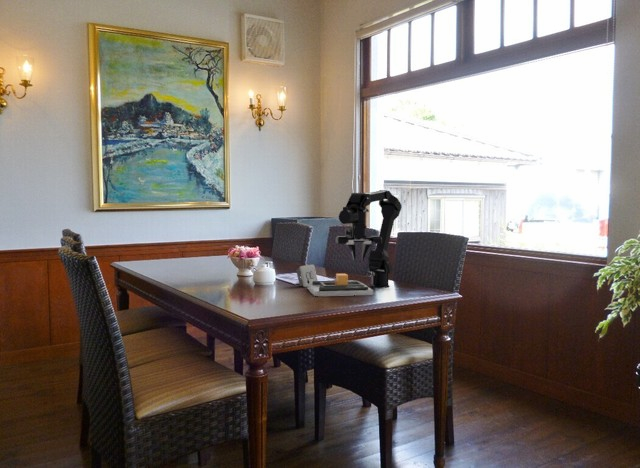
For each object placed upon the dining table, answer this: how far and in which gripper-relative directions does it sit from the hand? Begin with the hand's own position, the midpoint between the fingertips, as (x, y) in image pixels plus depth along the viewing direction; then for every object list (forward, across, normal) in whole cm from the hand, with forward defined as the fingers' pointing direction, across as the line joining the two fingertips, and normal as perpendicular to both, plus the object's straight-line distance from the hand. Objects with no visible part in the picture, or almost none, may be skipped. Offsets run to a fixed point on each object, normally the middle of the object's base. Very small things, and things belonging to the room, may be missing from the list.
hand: (358, 260), depth 235 cm
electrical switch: (+13, +19, -17) cm, 29 cm away
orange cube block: (+11, +7, 0) cm, 13 cm away
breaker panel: (+13, +8, 0) cm, 15 cm away
